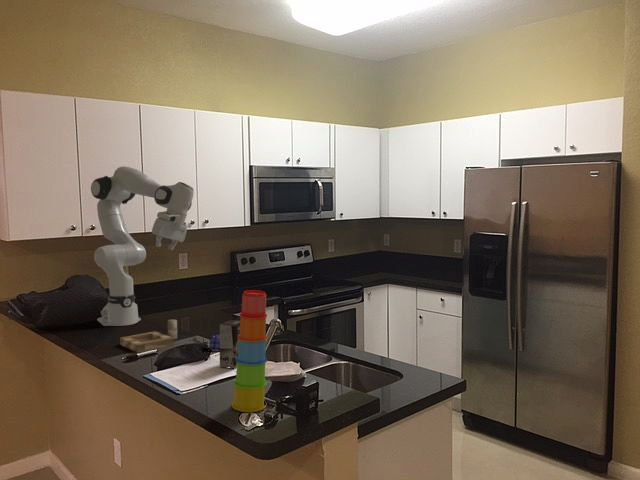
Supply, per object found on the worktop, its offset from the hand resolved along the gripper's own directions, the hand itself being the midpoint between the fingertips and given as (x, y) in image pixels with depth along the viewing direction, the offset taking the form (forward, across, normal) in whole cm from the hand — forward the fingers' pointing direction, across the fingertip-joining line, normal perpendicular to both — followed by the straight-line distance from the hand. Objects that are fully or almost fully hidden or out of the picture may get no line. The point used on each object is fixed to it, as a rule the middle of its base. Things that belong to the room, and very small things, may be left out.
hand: (164, 248), depth 235 cm
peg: (+36, -8, +14) cm, 40 cm away
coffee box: (+31, +16, +57) cm, 67 cm away
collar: (+40, +4, +11) cm, 42 cm away
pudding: (+32, -2, +40) cm, 51 cm away
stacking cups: (+33, +48, +82) cm, 101 cm away
